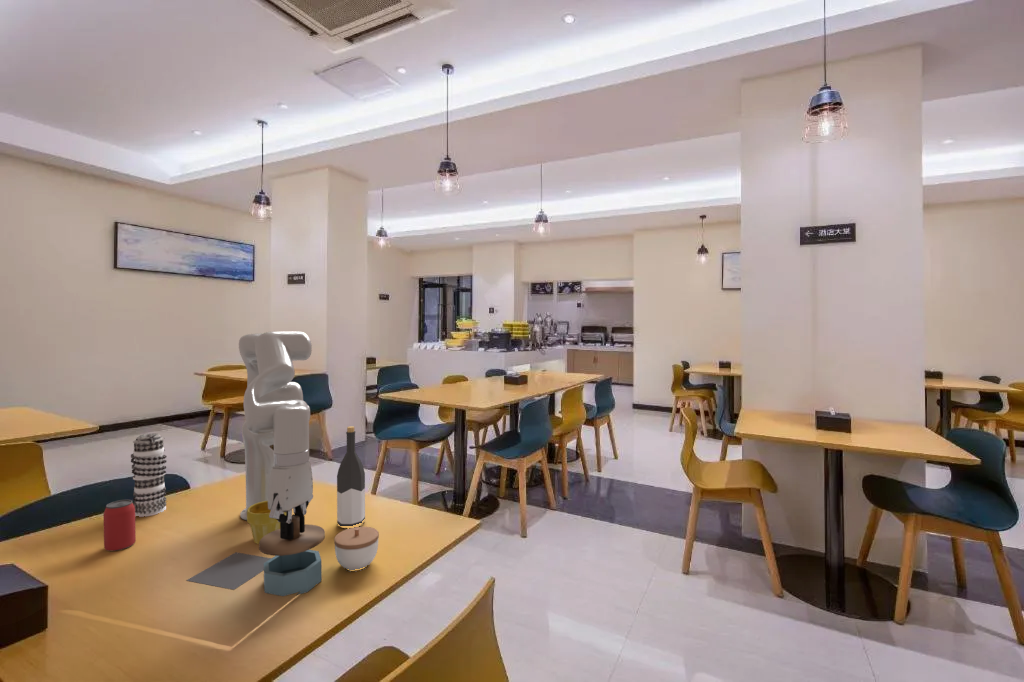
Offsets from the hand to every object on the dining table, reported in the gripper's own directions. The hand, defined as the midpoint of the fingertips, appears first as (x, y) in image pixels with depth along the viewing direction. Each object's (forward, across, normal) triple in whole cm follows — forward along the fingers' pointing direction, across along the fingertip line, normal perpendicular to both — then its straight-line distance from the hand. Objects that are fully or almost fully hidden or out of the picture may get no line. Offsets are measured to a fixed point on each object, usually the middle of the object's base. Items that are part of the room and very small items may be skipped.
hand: (292, 534), depth 109 cm
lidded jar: (+12, -11, +10) cm, 19 cm away
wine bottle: (+12, -32, -6) cm, 35 cm away
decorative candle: (+11, -22, -74) cm, 78 cm away
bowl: (+12, 0, 0) cm, 12 cm away
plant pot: (+12, -16, -22) cm, 30 cm away
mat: (+12, 0, -17) cm, 21 cm away
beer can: (+11, -2, -58) cm, 59 cm away
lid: (+2, 0, 0) cm, 2 cm away
